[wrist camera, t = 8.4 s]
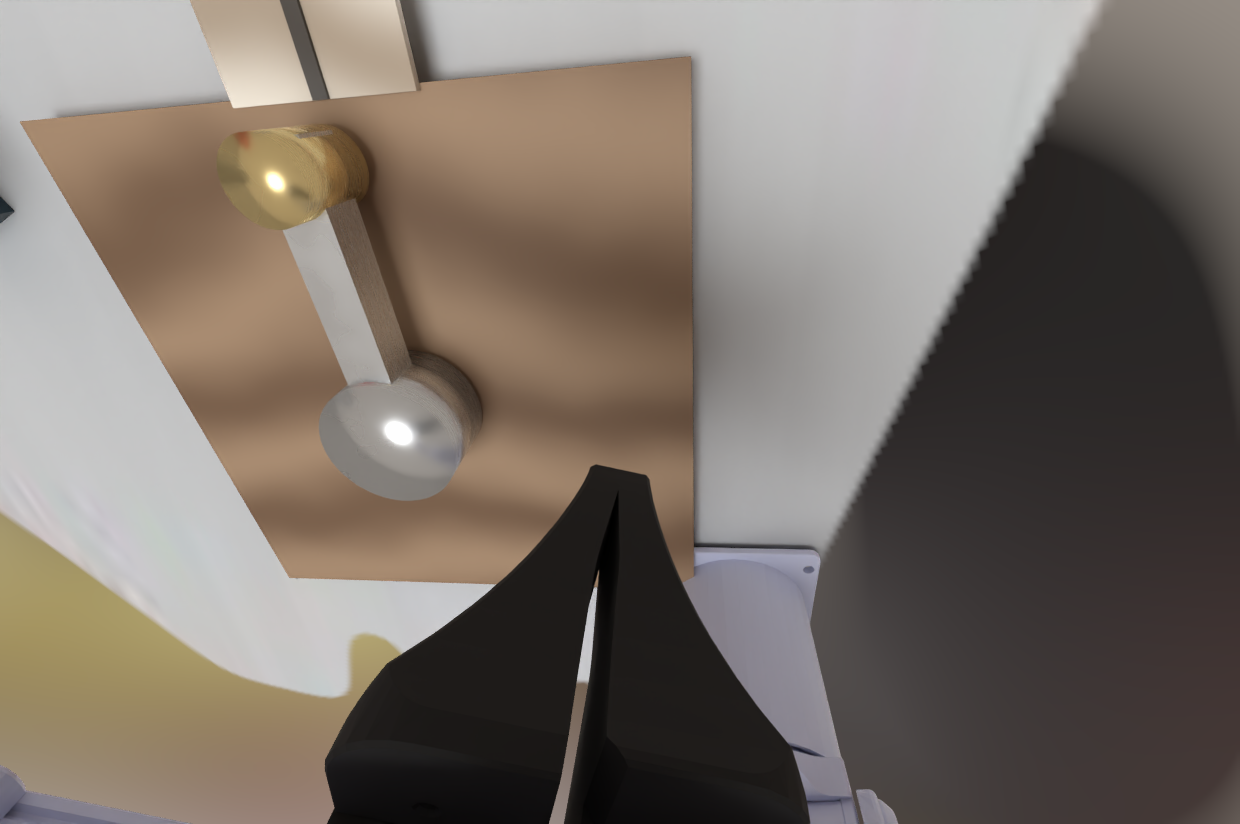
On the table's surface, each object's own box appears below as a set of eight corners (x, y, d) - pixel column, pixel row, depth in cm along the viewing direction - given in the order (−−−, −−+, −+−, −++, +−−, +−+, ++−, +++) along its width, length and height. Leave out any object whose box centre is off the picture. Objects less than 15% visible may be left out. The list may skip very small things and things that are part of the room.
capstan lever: (494, 453, 22) (464, 510, 19) (386, 455, 23) (340, 511, 20) (398, 114, 16) (331, 120, 13) (252, 131, 17) (154, 142, 14)
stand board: (693, 571, 27) (694, 597, 26) (302, 560, 30) (284, 584, 28) (690, -68, 14) (690, -84, 13) (1, 20, 17) (-60, 14, 16)
